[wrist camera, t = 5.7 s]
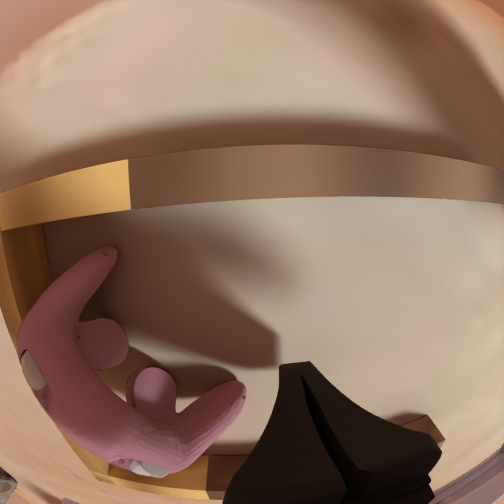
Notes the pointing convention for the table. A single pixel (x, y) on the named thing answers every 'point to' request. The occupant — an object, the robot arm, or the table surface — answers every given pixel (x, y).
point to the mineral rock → (6, 486)
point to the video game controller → (100, 395)
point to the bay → (210, 190)
